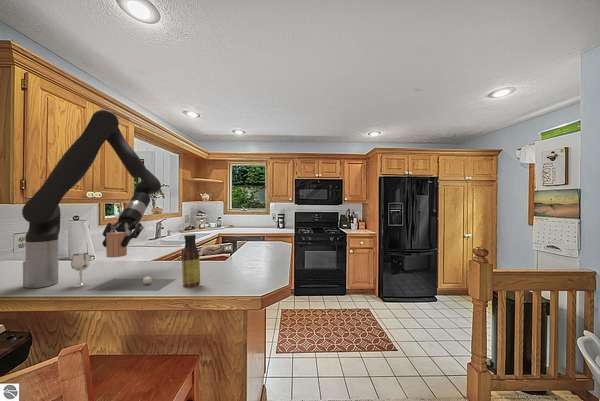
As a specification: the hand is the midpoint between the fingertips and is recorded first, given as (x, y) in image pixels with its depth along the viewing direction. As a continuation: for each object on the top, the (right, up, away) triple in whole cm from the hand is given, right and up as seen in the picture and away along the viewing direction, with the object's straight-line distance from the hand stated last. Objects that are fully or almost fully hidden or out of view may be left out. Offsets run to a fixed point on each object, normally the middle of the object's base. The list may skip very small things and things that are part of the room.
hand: (113, 245), depth 102 cm
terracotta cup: (0, -4, +2) cm, 4 cm away
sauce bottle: (+29, -16, +1) cm, 33 cm away
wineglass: (-14, -16, +2) cm, 21 cm away
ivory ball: (+12, -15, +2) cm, 19 cm away
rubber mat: (+7, -16, +2) cm, 17 cm away
